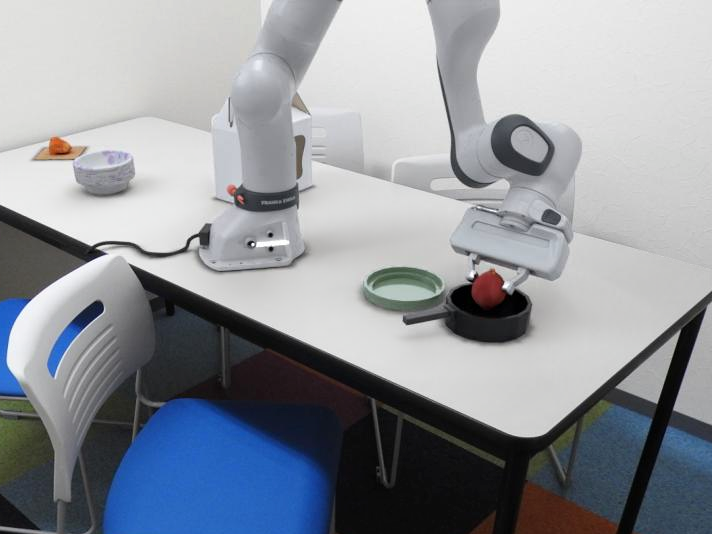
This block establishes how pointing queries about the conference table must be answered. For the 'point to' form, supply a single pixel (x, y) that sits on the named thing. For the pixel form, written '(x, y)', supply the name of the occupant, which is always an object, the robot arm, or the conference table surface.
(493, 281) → the onion
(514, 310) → the pan
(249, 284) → the conference table surface
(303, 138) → the gable box
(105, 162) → the paper bowls
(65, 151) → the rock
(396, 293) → the plate
